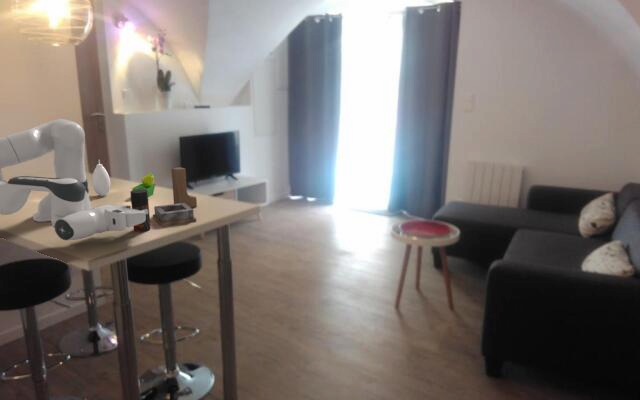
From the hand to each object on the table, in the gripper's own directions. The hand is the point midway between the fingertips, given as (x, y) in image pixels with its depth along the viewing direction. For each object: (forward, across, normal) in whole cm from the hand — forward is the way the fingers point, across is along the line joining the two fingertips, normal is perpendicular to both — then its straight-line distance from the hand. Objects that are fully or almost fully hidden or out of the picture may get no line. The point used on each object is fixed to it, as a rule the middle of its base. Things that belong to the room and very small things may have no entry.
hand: (138, 209), depth 174 cm
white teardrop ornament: (+29, -60, -8) cm, 67 cm away
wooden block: (+33, -10, -8) cm, 36 cm away
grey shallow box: (+17, 0, -8) cm, 19 cm away
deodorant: (+1, 0, -8) cm, 9 cm away
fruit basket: (+39, -41, -9) cm, 57 cm away
